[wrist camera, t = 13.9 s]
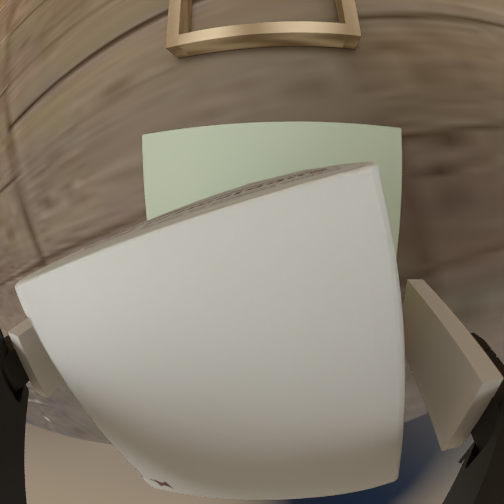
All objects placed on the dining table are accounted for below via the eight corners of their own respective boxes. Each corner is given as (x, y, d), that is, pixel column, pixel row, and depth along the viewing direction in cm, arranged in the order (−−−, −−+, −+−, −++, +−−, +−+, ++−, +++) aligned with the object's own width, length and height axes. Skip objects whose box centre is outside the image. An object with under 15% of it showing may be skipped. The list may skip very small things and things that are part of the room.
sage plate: (398, 128, 18) (401, 128, 17) (379, 341, 23) (381, 344, 23) (145, 135, 21) (142, 134, 21) (166, 331, 26) (163, 334, 26)
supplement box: (346, 285, 22) (402, 486, 6) (235, 311, 24) (154, 494, 8) (315, 163, 19) (389, 145, 3) (196, 200, 21) (3, 283, 5)
